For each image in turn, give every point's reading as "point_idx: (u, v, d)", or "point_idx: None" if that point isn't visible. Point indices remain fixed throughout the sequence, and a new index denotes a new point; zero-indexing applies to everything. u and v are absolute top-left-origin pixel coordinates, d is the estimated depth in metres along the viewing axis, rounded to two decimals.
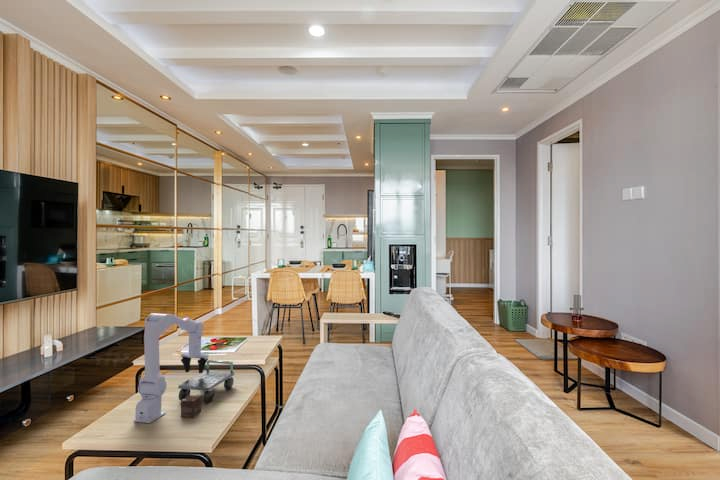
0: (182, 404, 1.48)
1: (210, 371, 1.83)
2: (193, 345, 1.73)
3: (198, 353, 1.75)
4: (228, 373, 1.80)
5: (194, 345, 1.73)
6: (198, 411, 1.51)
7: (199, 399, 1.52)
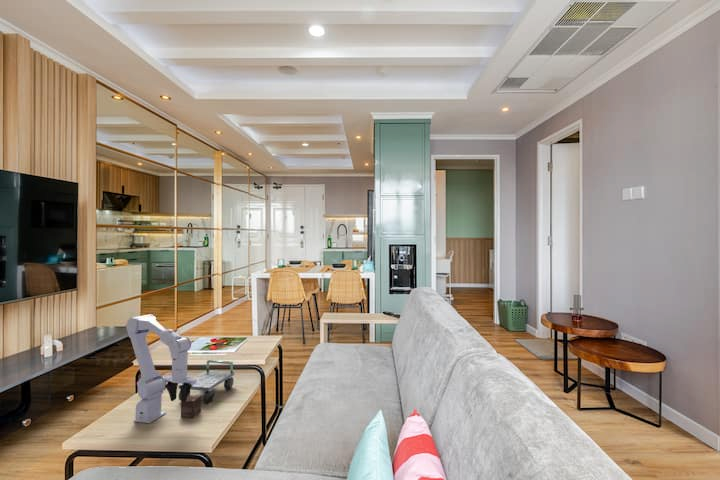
0: (182, 404, 1.48)
1: (210, 371, 1.83)
2: None
3: (183, 377, 1.42)
4: (228, 373, 1.80)
5: None
6: (198, 411, 1.51)
7: (199, 399, 1.52)
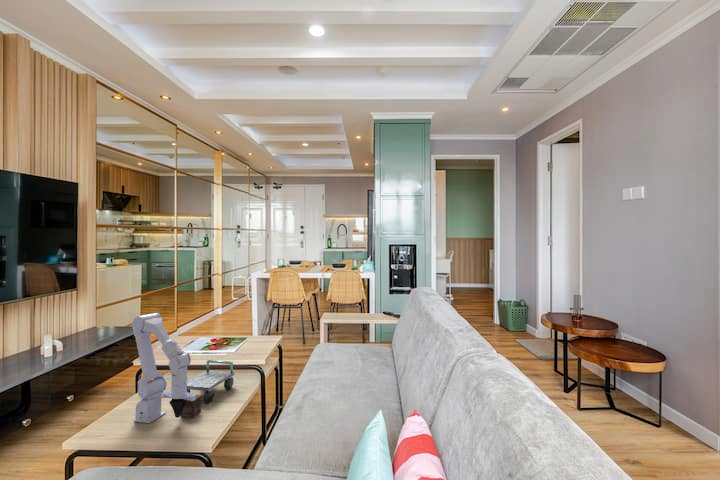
0: None
1: (210, 371, 1.83)
2: None
3: (183, 393, 1.42)
4: (228, 373, 1.80)
5: None
6: (198, 411, 1.51)
7: (199, 399, 1.52)
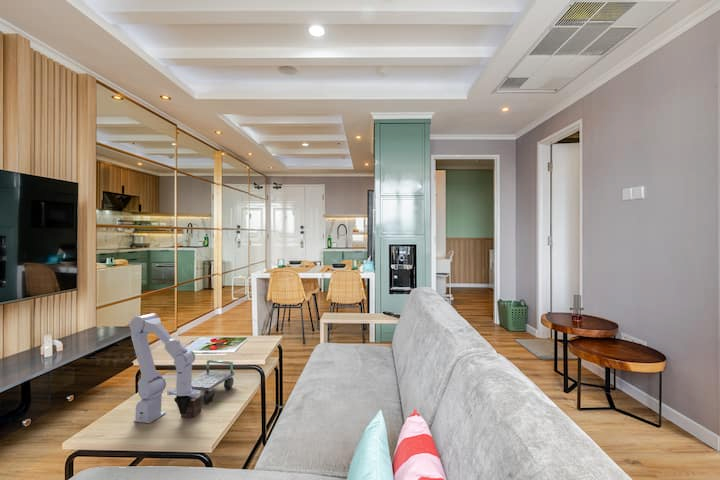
0: None
1: (210, 371, 1.83)
2: None
3: (188, 390, 1.45)
4: (228, 373, 1.80)
5: None
6: (198, 411, 1.51)
7: (199, 399, 1.52)
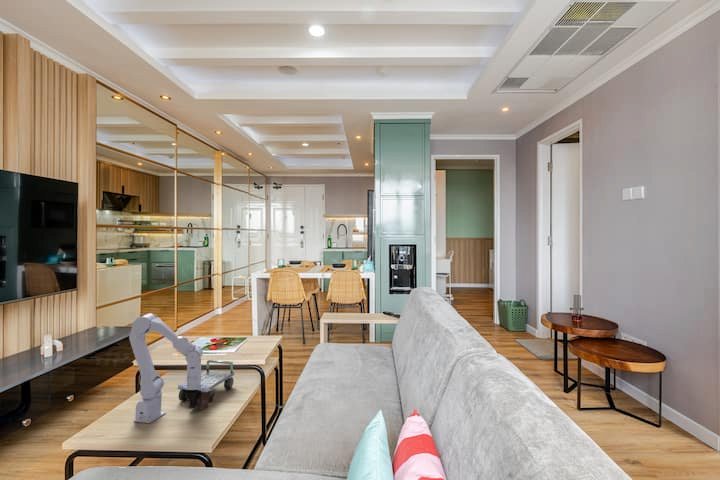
0: None
1: (210, 371, 1.83)
2: (187, 375, 1.51)
3: (198, 385, 1.51)
4: (228, 373, 1.80)
5: (187, 375, 1.51)
6: (205, 405, 1.56)
7: (208, 393, 1.58)
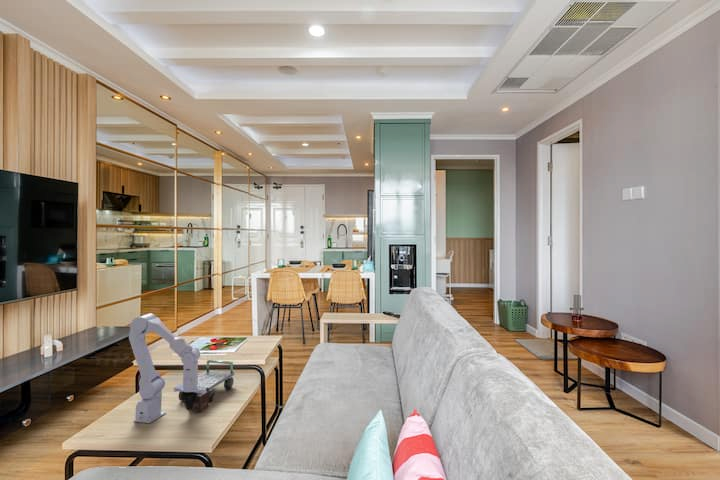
0: None
1: (210, 371, 1.83)
2: (183, 376, 1.49)
3: (194, 387, 1.49)
4: (228, 373, 1.80)
5: (183, 377, 1.49)
6: (205, 406, 1.56)
7: (206, 395, 1.57)
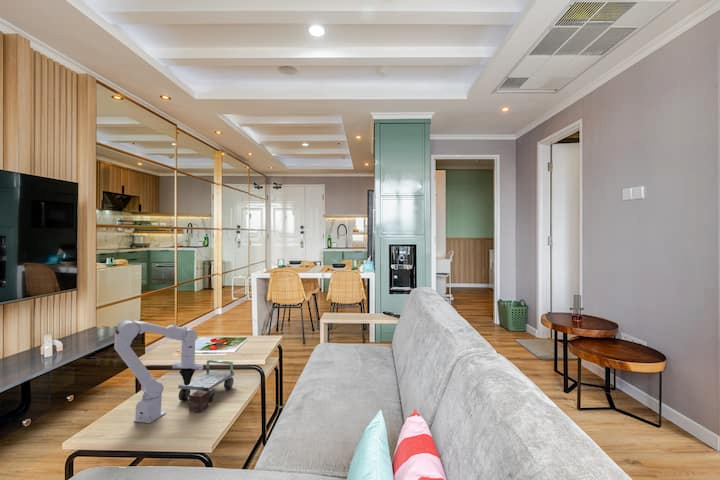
0: (190, 399, 1.53)
1: (210, 371, 1.83)
2: (183, 355, 1.57)
3: (191, 363, 1.58)
4: (228, 373, 1.80)
5: (183, 355, 1.57)
6: (205, 406, 1.56)
7: (206, 395, 1.57)
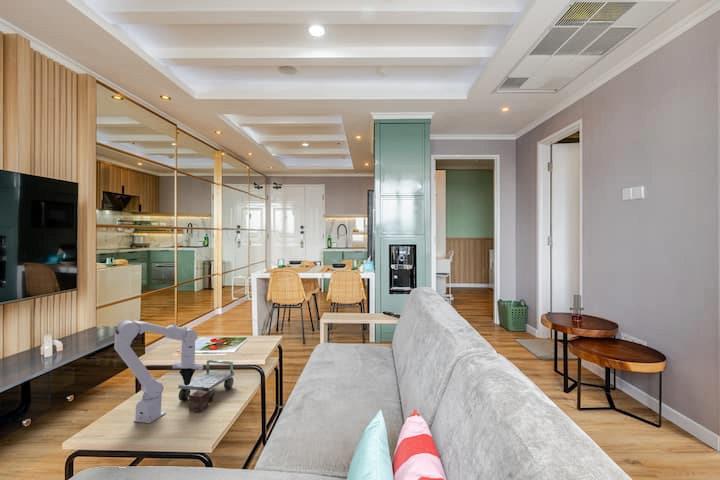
0: (190, 399, 1.53)
1: (210, 371, 1.83)
2: (183, 355, 1.57)
3: (191, 363, 1.58)
4: (228, 373, 1.80)
5: (183, 355, 1.57)
6: (205, 406, 1.56)
7: (206, 395, 1.57)
